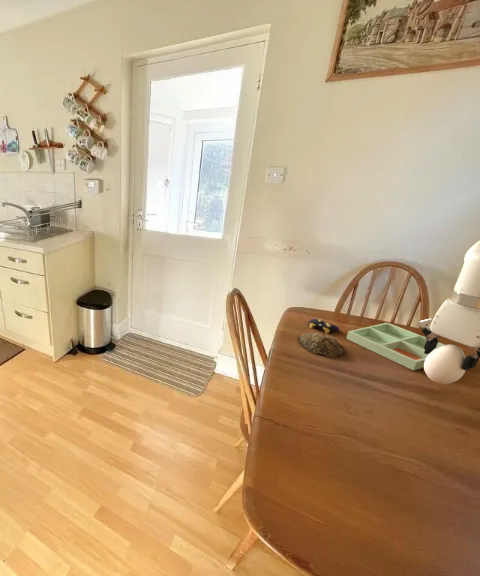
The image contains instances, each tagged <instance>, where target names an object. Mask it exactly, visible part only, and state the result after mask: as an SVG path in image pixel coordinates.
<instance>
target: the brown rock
mask: <svg viewBox="0 0 480 576" xmlns="http://www.w3.org/2000/svg"><path fill="white" fill-rule="evenodd" d="M299 342H300V344H301V346H303V347H304V348H305V349H306V350H307V351H309V352H311V353H313V354H315V355H322V356H325V357H327V358H337V357H338V356H342V355H343V349H342V348H341V346H340V342H338V340H337V339H336V338H335V337H333V336H329V335H328V334H327V335H326V334H324V333H320V332H306V333H303V334H300V336H299Z"/></svg>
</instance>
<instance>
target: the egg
mask: <svg viewBox="0 0 480 576" xmlns="http://www.w3.org/2000/svg"><path fill="white" fill-rule="evenodd" d="M466 357H467V355H466V354H465V352H464V351H463V349H461V347H459V346H457V345H455V344H444V345H442V346H439V347H437V348H436V349H434V350H433V351H432V352H430V353H429V355H428V356H427V358H426V360H425V362H424V367H423V370H424V372H425V375H426V376H427V377H428V378H429V379H430V380H431V381H432V382H434V383H436V384H438V385H439V384H440V385H449V384H452V383H455V382H457V381H459V380H460V379H462V378H463V376H464V375H465V373H466V371H467V370H463V369H462V368H461V367H462V365H463V363H464V361H465V359H466Z"/></svg>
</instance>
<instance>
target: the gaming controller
mask: <svg viewBox="0 0 480 576" xmlns="http://www.w3.org/2000/svg"><path fill="white" fill-rule="evenodd" d="M308 325H309V328H311V329H314V328H315V329H317V330H319V331H323V332H324V334H331V333H338V332H339V330H340V327H339V326H337V325H334V324H332V323H330V322H326V321H324V320H322V318H321V319H320V318H319V319H318V318H311V319H310V320H309V324H308Z"/></svg>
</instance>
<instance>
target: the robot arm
mask: <svg viewBox="0 0 480 576" xmlns="http://www.w3.org/2000/svg"><path fill="white" fill-rule="evenodd" d="M463 257H464V258H463V263H464V264H463V266H462V268H461V271H460V273H459V276H458V278H457V281H456V283H455V285H454V286H453V287H454V288H453V291H452V292H451V295H450V297H449V298H446V299H445V300H444V301H443V303H442V304H441V305H440V307H439V308H438V310H437V312H436V313H435V315H434V317H433V318H429V319H428V318H427V319H423V320H419V321H418V322H417V323H418V326H419V327H420V329H421V333H423V335H424V337H425V339H426V340H427V341H426V343H425V346H424V349H425V351H424V353H425V354H429V353H430V352H432V351H433V350H434V349H436V346H437V344H438V342H439V339H438V338H439V337H442V338H445V339H448V340H449V341H453V342H455V343H457V344H461V345H464V346H466V347H467V348H468V351H469V355H466V359H465V361H464V363H463V365H462V367H461V368H462V369H463V370H466V371H467V370H470V369H474V368H476V366H477V364H478V362H479V360H480V240H478V241H477V242H476V243H474V244H473V245H472V246H471V247H470V248H469V249H468V250H467V252H466V253H465V255H464V256H463ZM429 325H430V326H429Z"/></svg>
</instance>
